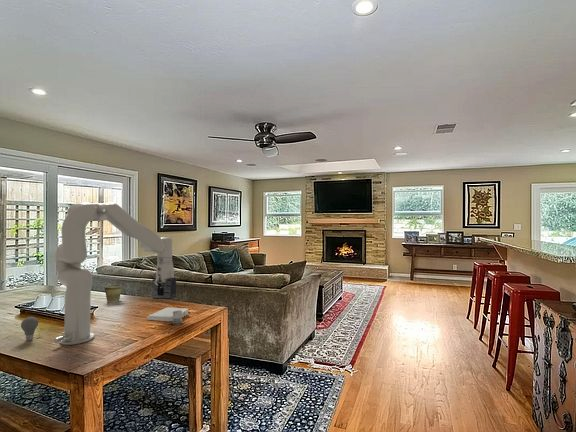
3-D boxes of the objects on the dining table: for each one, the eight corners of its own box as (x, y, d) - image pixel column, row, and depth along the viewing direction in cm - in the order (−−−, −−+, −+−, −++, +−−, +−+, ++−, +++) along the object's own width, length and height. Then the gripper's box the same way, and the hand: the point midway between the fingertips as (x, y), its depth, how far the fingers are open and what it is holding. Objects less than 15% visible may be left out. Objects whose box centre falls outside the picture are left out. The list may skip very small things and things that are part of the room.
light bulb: (36, 336, 146) (36, 314, 146) (40, 339, 142) (40, 316, 143) (19, 340, 142) (19, 317, 142) (22, 343, 138) (22, 320, 138)
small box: (176, 296, 177) (176, 277, 177) (171, 299, 171) (171, 279, 171) (158, 296, 178) (158, 277, 178) (152, 299, 172) (152, 279, 172)
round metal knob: (178, 325, 162) (178, 313, 162) (170, 324, 163) (170, 312, 163) (183, 322, 167) (183, 310, 167) (175, 321, 168) (175, 310, 168)
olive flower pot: (117, 303, 204) (117, 287, 204) (101, 303, 204) (101, 287, 204) (127, 298, 217) (127, 283, 217) (111, 298, 217) (112, 283, 217)
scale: (175, 322, 167) (175, 316, 167) (146, 319, 171) (146, 314, 171) (193, 312, 185) (193, 307, 185) (167, 310, 189) (167, 305, 189)
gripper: (161, 262, 166) (161, 298, 165) (179, 258, 182) (179, 290, 182) (148, 262, 167) (148, 297, 167) (167, 258, 184) (167, 290, 184)
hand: (164, 293), depth 175 cm, fingers closed on small box, 6 cm apart
